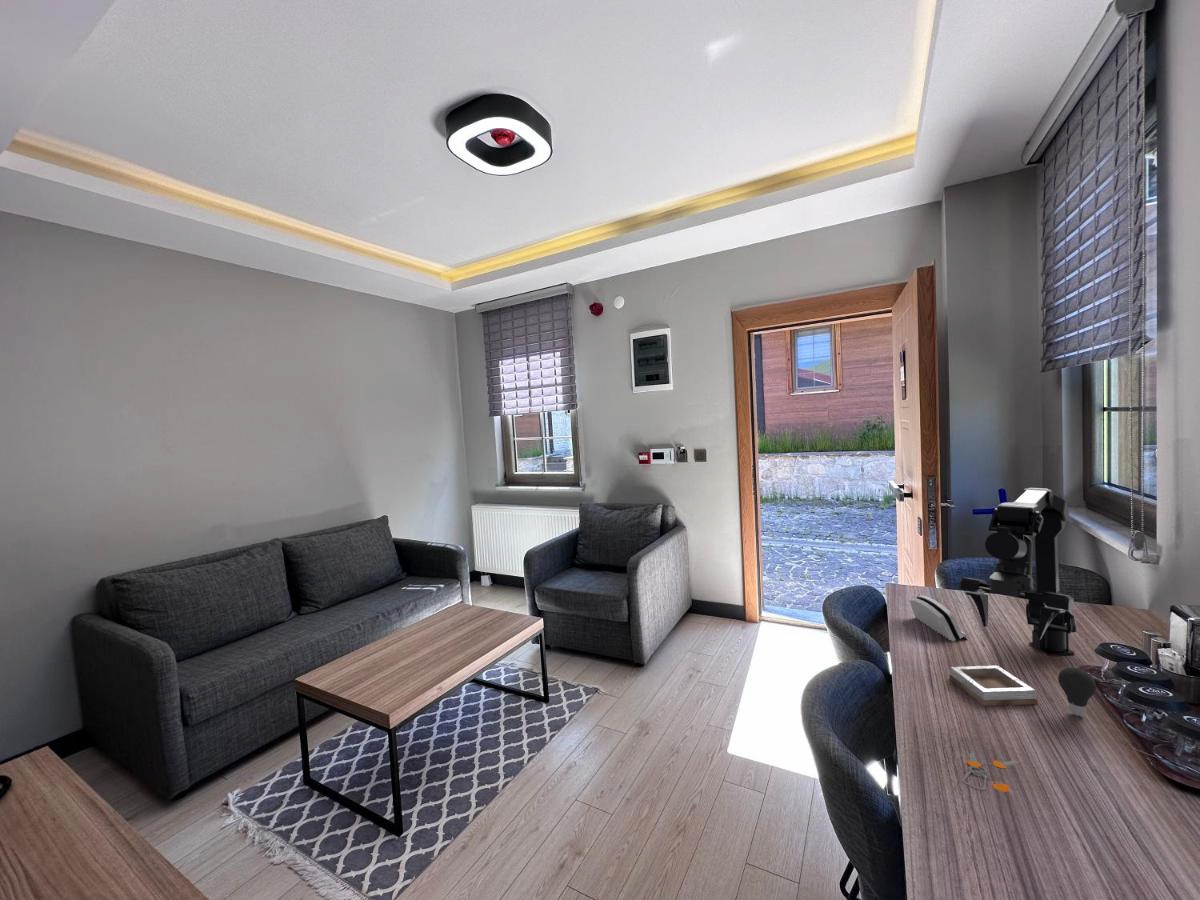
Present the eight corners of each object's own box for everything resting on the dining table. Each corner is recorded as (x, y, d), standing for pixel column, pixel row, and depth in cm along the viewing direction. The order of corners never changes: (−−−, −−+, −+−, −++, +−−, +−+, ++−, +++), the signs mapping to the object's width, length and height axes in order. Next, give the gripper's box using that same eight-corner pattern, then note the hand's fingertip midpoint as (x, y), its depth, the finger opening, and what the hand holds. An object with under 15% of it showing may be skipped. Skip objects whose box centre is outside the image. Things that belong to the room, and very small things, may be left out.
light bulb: (1090, 727, 97) (1089, 678, 96) (1053, 713, 102) (1052, 667, 101) (1101, 717, 99) (1100, 670, 99) (1065, 704, 104) (1064, 659, 104)
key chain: (1007, 804, 80) (1007, 799, 80) (954, 781, 86) (954, 776, 86) (1021, 765, 88) (1021, 760, 88) (972, 746, 94) (972, 742, 94)
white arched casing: (970, 640, 135) (956, 608, 135) (953, 646, 135) (940, 614, 135) (931, 616, 152) (919, 587, 151) (916, 622, 152) (904, 593, 152)
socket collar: (997, 673, 116) (997, 665, 116) (1035, 699, 105) (1035, 690, 105) (950, 675, 117) (950, 667, 117) (983, 700, 106) (983, 691, 106)
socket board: (998, 677, 116) (997, 673, 116) (1037, 704, 105) (1037, 699, 105) (949, 678, 117) (949, 674, 117) (983, 705, 106) (983, 701, 106)
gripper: (952, 552, 110) (947, 622, 109) (1063, 568, 95) (1060, 649, 94) (968, 554, 117) (964, 620, 115) (1075, 569, 102) (1073, 645, 100)
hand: (1011, 632), depth 106 cm, fingers open, 9 cm apart
